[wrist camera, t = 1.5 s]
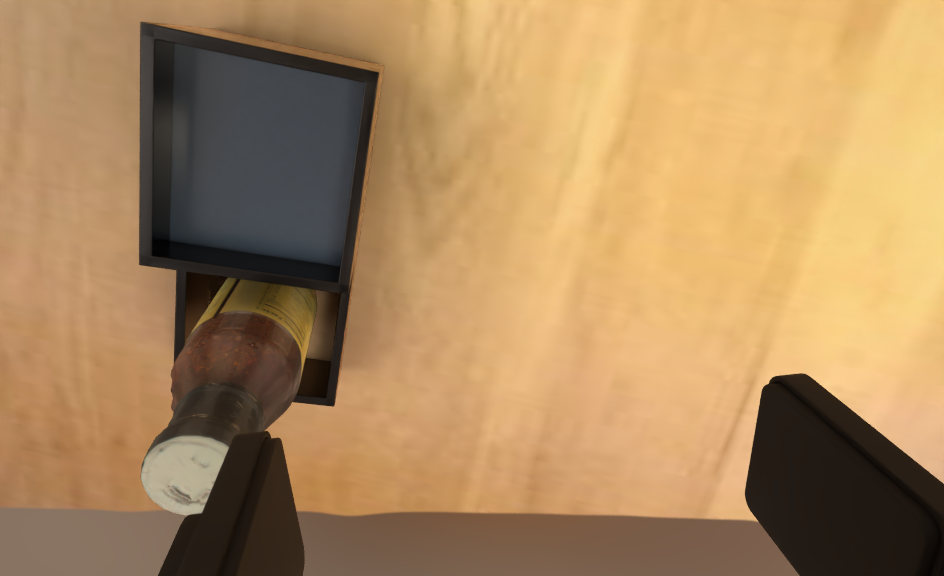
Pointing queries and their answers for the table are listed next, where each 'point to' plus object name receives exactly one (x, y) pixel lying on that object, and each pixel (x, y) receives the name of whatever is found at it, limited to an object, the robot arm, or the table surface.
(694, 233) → the table surface
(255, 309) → the sauce bottle
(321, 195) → the bottle rack
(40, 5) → the table surface
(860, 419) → the robot arm
